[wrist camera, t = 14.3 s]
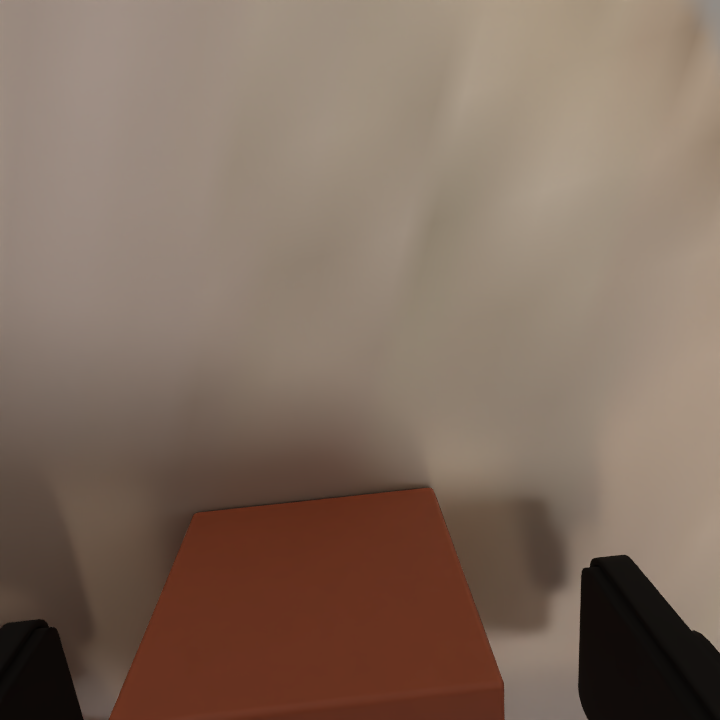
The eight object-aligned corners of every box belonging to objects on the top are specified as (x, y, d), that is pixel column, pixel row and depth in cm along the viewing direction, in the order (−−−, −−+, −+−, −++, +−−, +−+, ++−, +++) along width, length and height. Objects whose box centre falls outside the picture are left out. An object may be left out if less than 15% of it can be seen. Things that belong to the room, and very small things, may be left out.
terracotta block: (229, 700, 12) (174, 993, 7) (193, 510, 10) (100, 731, 6) (443, 675, 12) (510, 948, 8) (433, 485, 11) (505, 682, 6)
